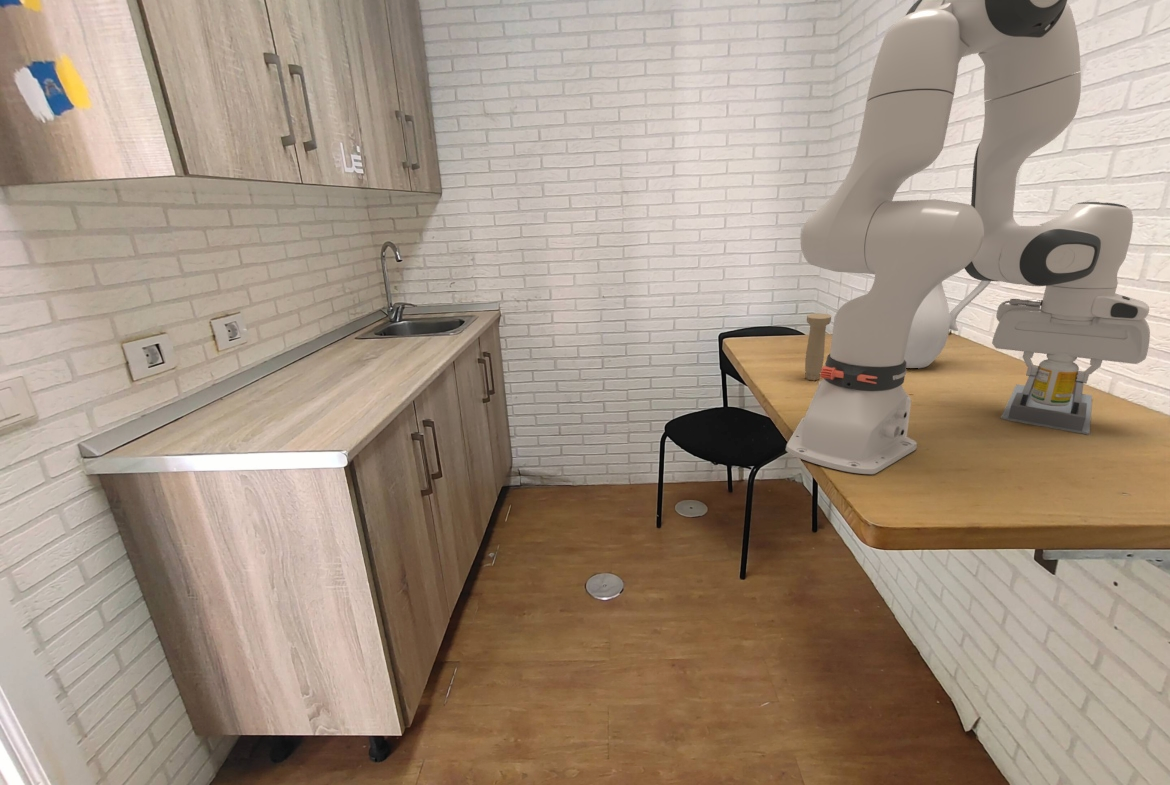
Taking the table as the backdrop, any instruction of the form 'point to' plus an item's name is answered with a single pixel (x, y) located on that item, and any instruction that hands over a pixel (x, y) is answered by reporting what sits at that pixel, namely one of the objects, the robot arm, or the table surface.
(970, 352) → the table surface
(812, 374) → the handle
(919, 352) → the pitcher
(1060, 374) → the supplement bottle
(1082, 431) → the gray rectangular stand
